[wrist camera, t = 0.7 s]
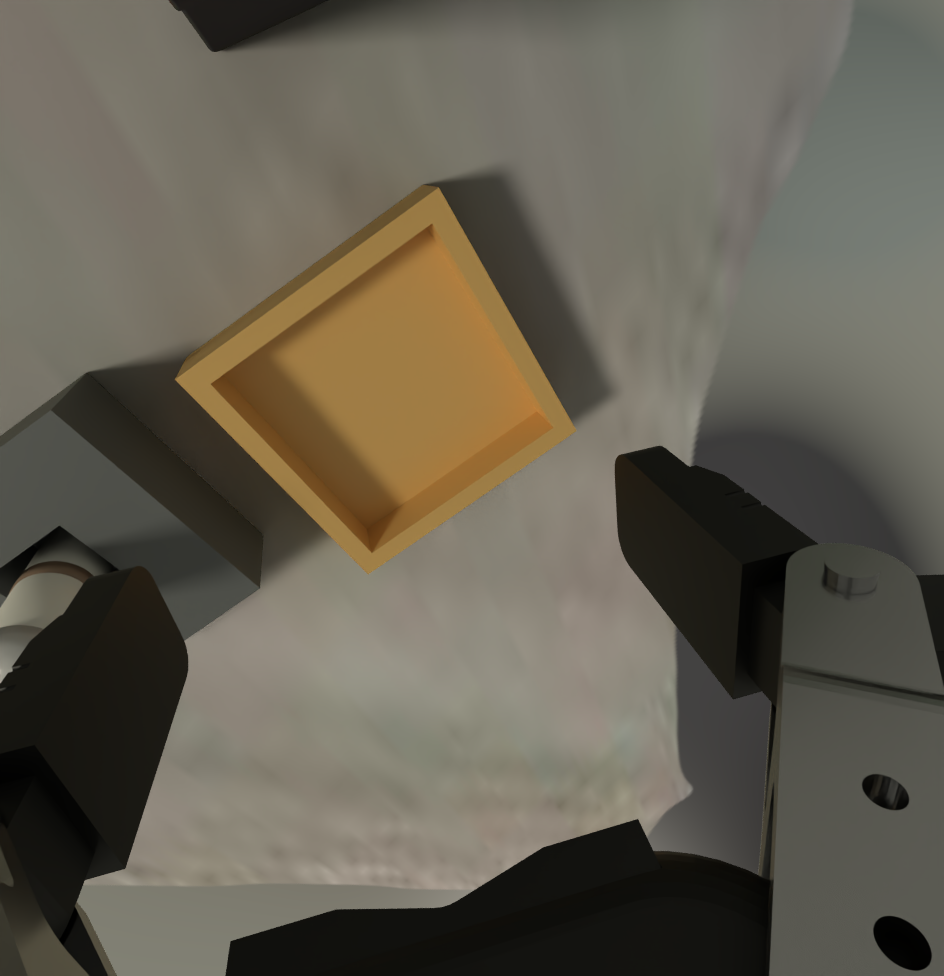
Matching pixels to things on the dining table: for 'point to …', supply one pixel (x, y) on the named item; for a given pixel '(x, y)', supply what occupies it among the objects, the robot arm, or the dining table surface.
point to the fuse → (45, 591)
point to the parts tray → (383, 383)
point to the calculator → (237, 17)
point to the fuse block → (122, 505)
